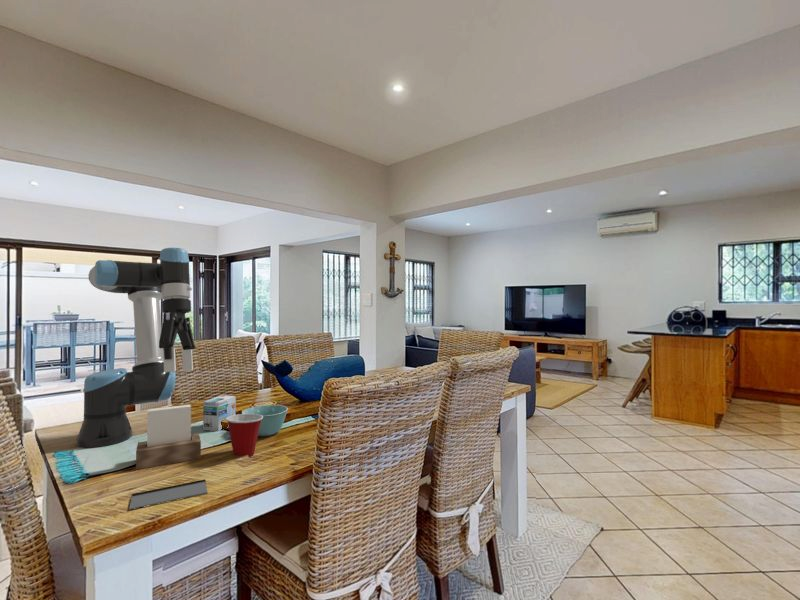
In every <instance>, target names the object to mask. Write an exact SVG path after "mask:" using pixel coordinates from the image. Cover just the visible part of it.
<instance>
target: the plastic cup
mask: <svg viewBox="0 0 800 600" xmlns="http://www.w3.org/2000/svg"><path fill="white" fill-rule="evenodd" d="M262 419H263V416H262V415H258V414H242V413H238V414H235V415H232V416H228V417H227V418H226V420H227V422H228V427H227V428H228V431H229V436H230V443H231V447H232V453H233V455H234V456H237V457H242V456H243V457H245V456H247V457H248V458H251V457H252V456H254V454H255V451H256V444H257V441H258V437H259V436H258V431H259V426H260V423H261V420H262Z"/></svg>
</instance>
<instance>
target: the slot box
mask: <svg viewBox="0 0 800 600" xmlns="http://www.w3.org/2000/svg"><path fill="white" fill-rule="evenodd" d="M201 448H202V441H201V437H200V433H198V432H197V433H193V434H192V433H191V440H189V441H182V442H176V443H169V444H163V445H156V446H150V447H147V440H145V441H138V442H137V445H136V449H135V450H136V451H135V470H136V471H137V470H141V469H147V468H152V467H158V466H159V467H160V466H164V465H171V464H176V463H182V462H186V461H187V462H188V461H194V460H199V459H202V456H201V455H202V454H201V453H202V451H201Z"/></svg>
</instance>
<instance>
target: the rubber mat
mask: <svg viewBox="0 0 800 600" xmlns="http://www.w3.org/2000/svg"><path fill="white" fill-rule="evenodd" d="M202 495H208V489H207V484H206V479H200V480H196V481H191V482H187V483H181V484H176V485H171V486H166V487H161V488H157V489H156V488H155V489H151V490H145V491H140V492H136V493H132V494H131V497H130V504H129V510H130V511H132V510H131V509H134V508H139V507H144V506H147V505H153V504H157V505H159V504H158V503H162V502H167V501H171V502H173V501H172V500H176V499H180V498H185V499H187V498H186V497H189V498H193V496H194V497H198V496H202ZM180 500H181V499H180ZM176 501H177V500H176ZM167 503H168V502H167ZM162 504H163V503H162ZM153 506H154V505H153ZM144 508H145V507H144ZM139 509H140V508H139ZM134 510H135V509H134Z"/></svg>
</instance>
